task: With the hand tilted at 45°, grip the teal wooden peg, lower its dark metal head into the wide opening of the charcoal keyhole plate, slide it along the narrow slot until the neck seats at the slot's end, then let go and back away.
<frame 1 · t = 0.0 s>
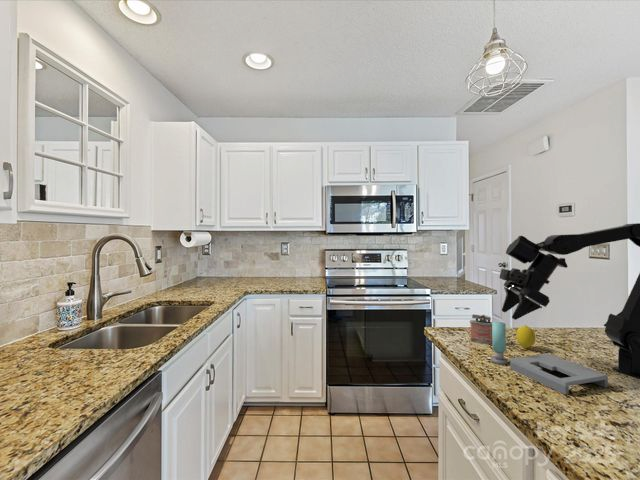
hand: (508, 315, 95), 15 cm above the countertop, tool tilted 35°, fingers open, 9 cm apart
keyhole plate: (555, 377, 86), on the countertop
lemon: (525, 349, 108), on the countertop
peg: (499, 362, 97), on the countertop
lighter: (482, 342, 115), on the countertop
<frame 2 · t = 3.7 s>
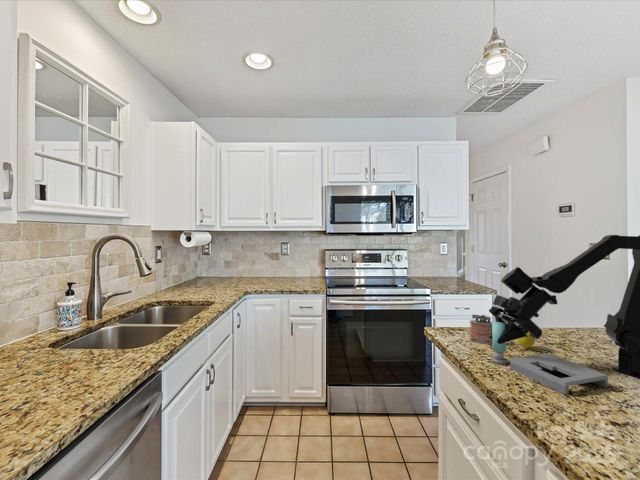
hand: (494, 340, 97), 7 cm above the countertop, tool tilted 45°, fingers closed on peg, 4 cm apart
peg: (499, 362, 97), on the countertop, touching gripper
everything else where it was.
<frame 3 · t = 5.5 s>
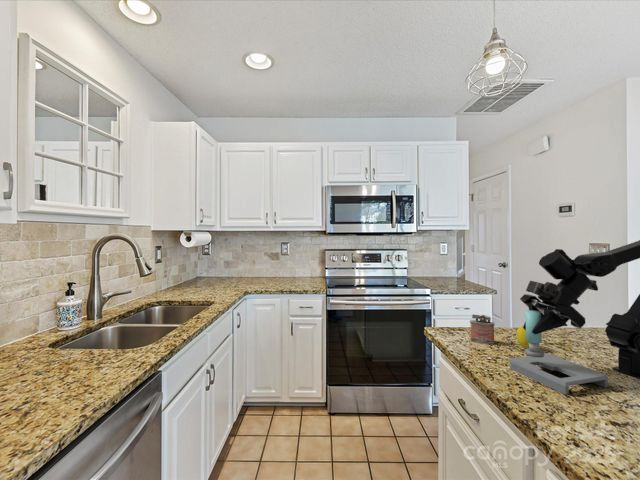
hand: (528, 331, 88), 12 cm above the countertop, tool tilted 45°, fingers closed on peg, 4 cm apart
peg: (534, 354, 88), point 6 cm above the countertop, touching gripper
everything else where it was.
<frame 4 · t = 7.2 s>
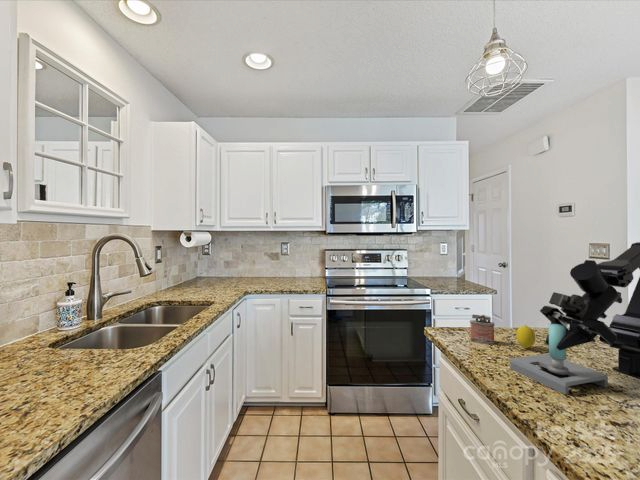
hand: (552, 346, 82), 10 cm above the countertop, tool tilted 45°, fingers closed on peg, 4 cm apart
peg: (558, 371, 82), point 3 cm above the countertop, touching gripper
everything else where it was.
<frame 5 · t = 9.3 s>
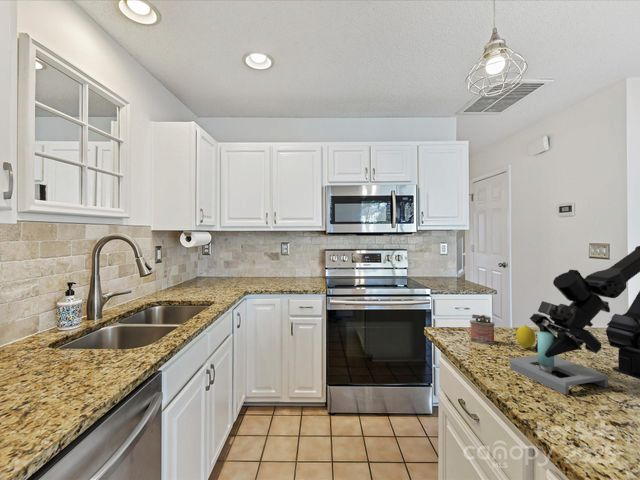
hand: (540, 353, 85), 7 cm above the countertop, tool tilted 45°, fingers closed on peg, 4 cm apart
peg: (546, 377, 85), on the countertop, touching gripper
everything else where it was.
when the fingers open (7 cm above the countertop, at t = 10.9 s): peg stays where it is, on the countertop.
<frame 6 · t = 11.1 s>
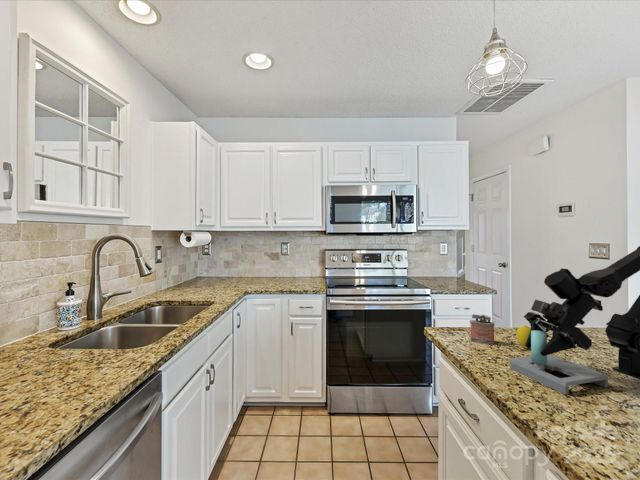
hand: (533, 350, 87), 7 cm above the countertop, tool tilted 45°, fingers open, 6 cm apart
peg: (539, 375, 87), on the countertop
everything else where it was.
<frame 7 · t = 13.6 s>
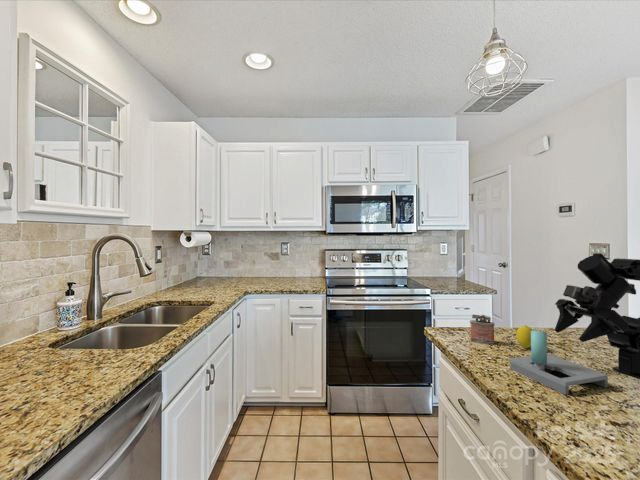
hand: (567, 335, 87), 11 cm above the countertop, tool tilted 45°, fingers open, 9 cm apart
nothing on the countertop moved.
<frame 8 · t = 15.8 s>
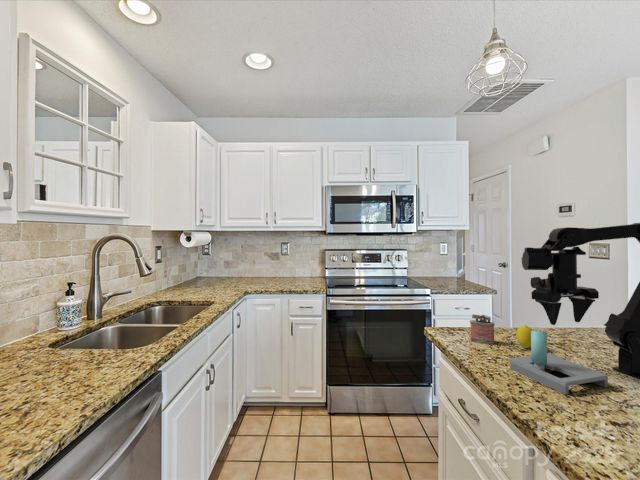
hand: (565, 323, 92), 13 cm above the countertop, tool pointing down, fingers open, 9 cm apart
nothing on the countertop moved.
at the end: peg 0.3 cm from the target spot on the keyhole plate, point 0.0 cm above the keyhole plate's base; peg tilted 0°; the gripper is holding nothing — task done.
